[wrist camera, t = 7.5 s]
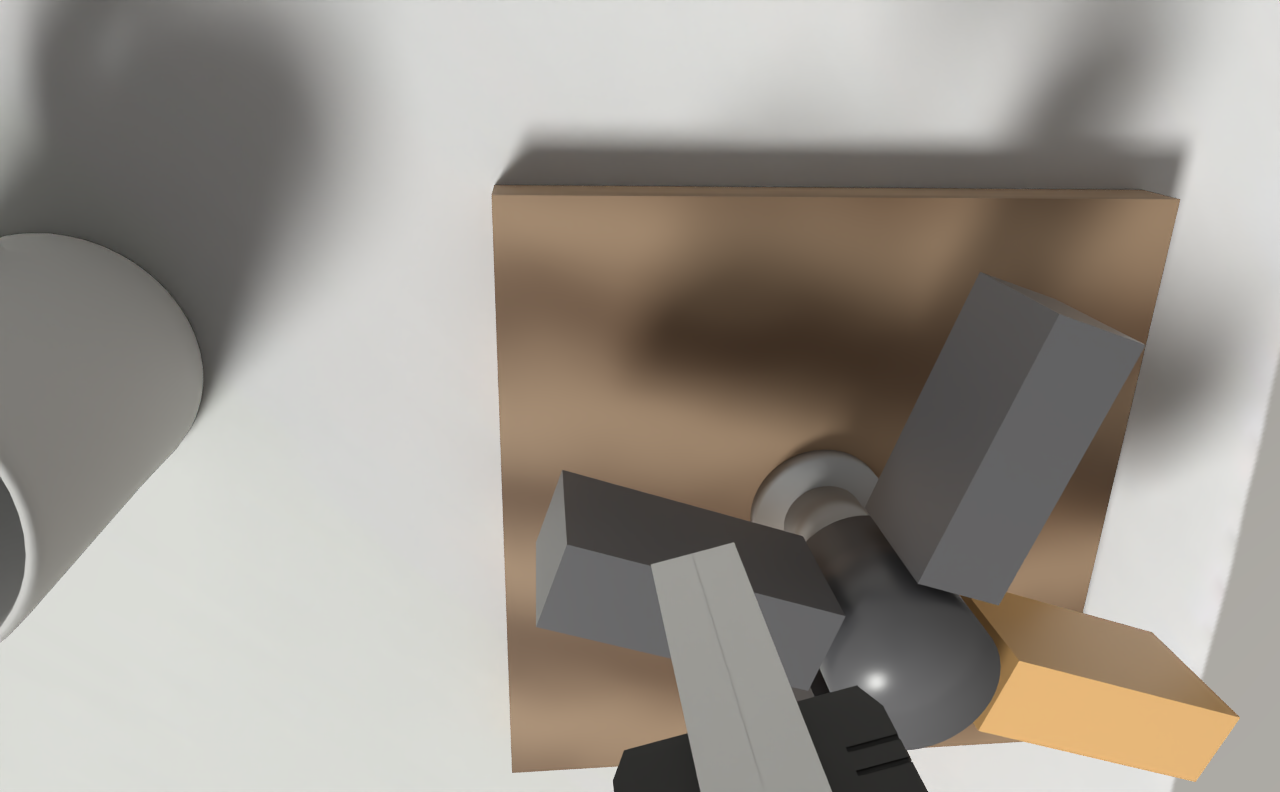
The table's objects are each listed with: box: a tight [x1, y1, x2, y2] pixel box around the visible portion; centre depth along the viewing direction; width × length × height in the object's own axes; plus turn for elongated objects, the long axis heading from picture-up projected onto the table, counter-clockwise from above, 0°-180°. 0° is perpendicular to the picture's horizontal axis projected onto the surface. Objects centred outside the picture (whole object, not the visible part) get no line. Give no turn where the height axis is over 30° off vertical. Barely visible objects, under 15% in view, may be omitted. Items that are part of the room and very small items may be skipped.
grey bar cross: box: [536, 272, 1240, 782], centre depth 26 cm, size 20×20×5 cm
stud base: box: [492, 185, 1180, 773], centre depth 31 cm, size 22×22×6 cm
